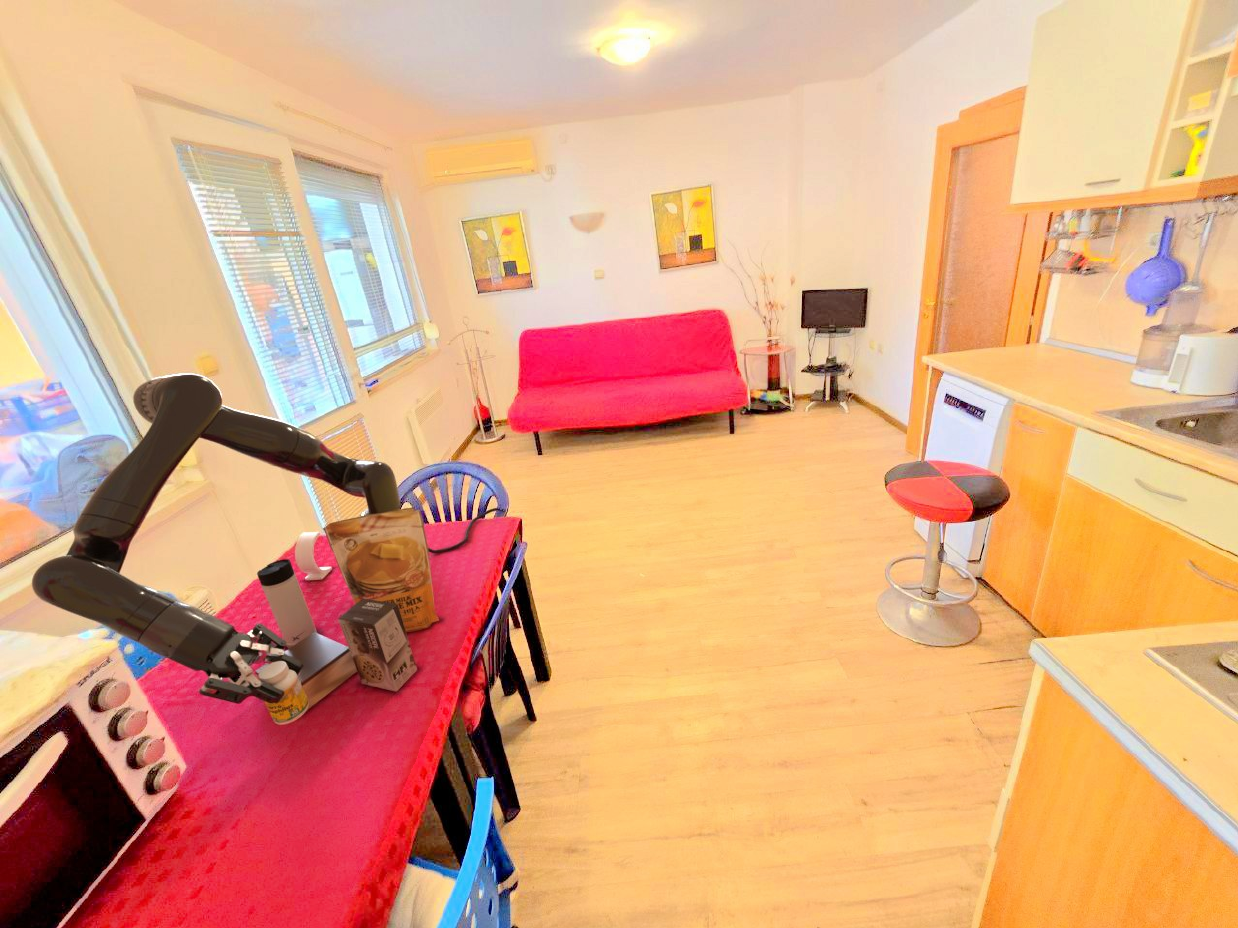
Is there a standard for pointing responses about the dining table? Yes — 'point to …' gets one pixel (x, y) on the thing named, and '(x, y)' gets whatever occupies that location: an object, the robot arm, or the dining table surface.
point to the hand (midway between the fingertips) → (290, 683)
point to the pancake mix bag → (387, 562)
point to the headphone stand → (309, 557)
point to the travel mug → (286, 601)
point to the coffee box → (378, 644)
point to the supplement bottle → (294, 696)
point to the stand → (320, 665)
